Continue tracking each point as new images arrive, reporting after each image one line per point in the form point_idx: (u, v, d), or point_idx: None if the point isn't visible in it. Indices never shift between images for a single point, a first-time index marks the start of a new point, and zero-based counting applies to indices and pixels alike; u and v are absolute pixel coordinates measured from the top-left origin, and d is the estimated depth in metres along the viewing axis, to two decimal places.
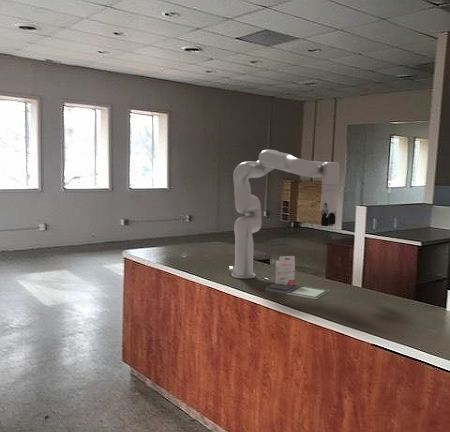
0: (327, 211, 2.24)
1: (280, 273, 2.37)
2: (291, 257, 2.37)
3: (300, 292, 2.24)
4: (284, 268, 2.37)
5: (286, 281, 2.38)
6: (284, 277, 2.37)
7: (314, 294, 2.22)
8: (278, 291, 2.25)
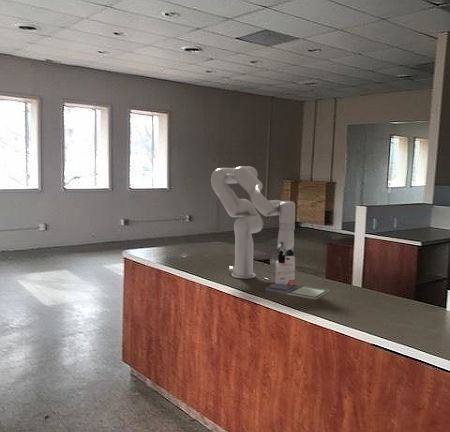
0: (284, 249, 2.34)
1: (280, 273, 2.37)
2: (291, 257, 2.37)
3: (300, 292, 2.24)
4: (284, 268, 2.37)
5: (286, 281, 2.38)
6: (284, 277, 2.37)
7: (314, 294, 2.22)
8: (278, 291, 2.25)
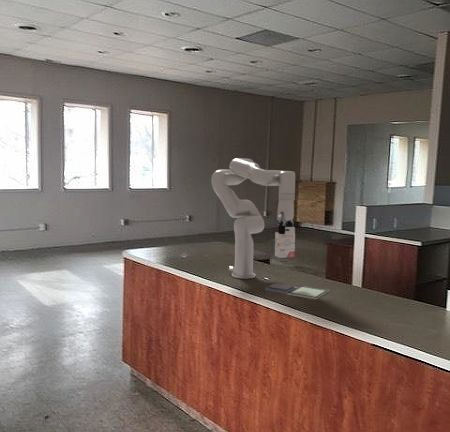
0: (284, 219, 2.29)
1: (280, 244, 2.31)
2: (291, 228, 2.32)
3: (300, 292, 2.24)
4: (284, 240, 2.31)
5: (286, 252, 2.32)
6: (284, 249, 2.32)
7: (314, 294, 2.22)
8: (278, 291, 2.25)
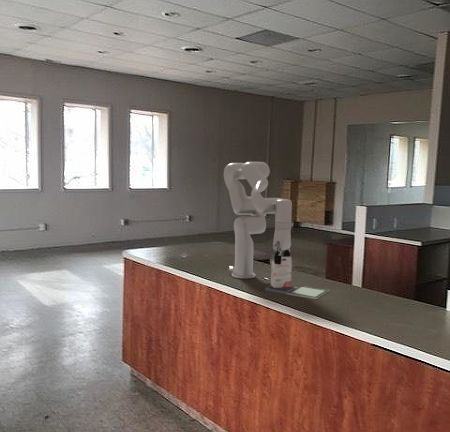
0: (280, 249, 2.23)
1: (276, 274, 2.25)
2: (288, 258, 2.26)
3: (300, 292, 2.24)
4: (280, 269, 2.26)
5: (281, 282, 2.27)
6: (280, 279, 2.26)
7: (314, 294, 2.22)
8: (278, 291, 2.25)
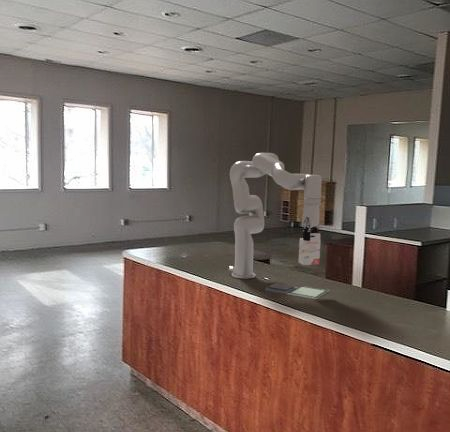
0: (309, 225, 2.18)
1: (305, 251, 2.21)
2: (316, 234, 2.21)
3: (300, 292, 2.24)
4: (309, 246, 2.21)
5: (310, 260, 2.22)
6: (308, 256, 2.22)
7: (314, 294, 2.22)
8: (278, 291, 2.25)
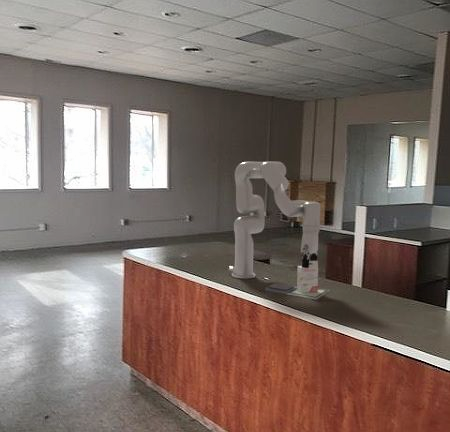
0: (308, 253, 2.20)
1: (303, 278, 2.23)
2: (314, 262, 2.24)
3: (300, 292, 2.24)
4: (307, 274, 2.23)
5: (308, 287, 2.24)
6: (306, 284, 2.24)
7: (314, 294, 2.22)
8: (278, 291, 2.25)
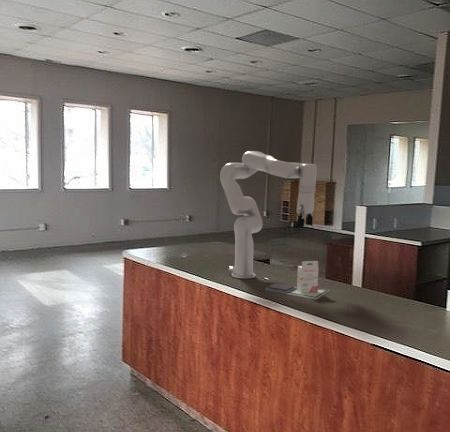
0: (303, 212, 2.27)
1: (303, 279, 2.23)
2: (314, 262, 2.24)
3: (300, 292, 2.24)
4: (307, 274, 2.23)
5: (308, 287, 2.24)
6: (306, 284, 2.24)
7: (314, 294, 2.22)
8: (278, 291, 2.25)
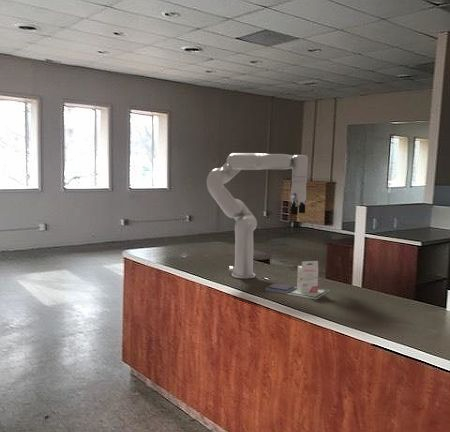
0: (296, 201, 2.40)
1: (303, 279, 2.23)
2: (314, 262, 2.24)
3: (300, 292, 2.24)
4: (307, 274, 2.23)
5: (308, 287, 2.24)
6: (306, 284, 2.24)
7: (314, 294, 2.22)
8: (278, 291, 2.25)
